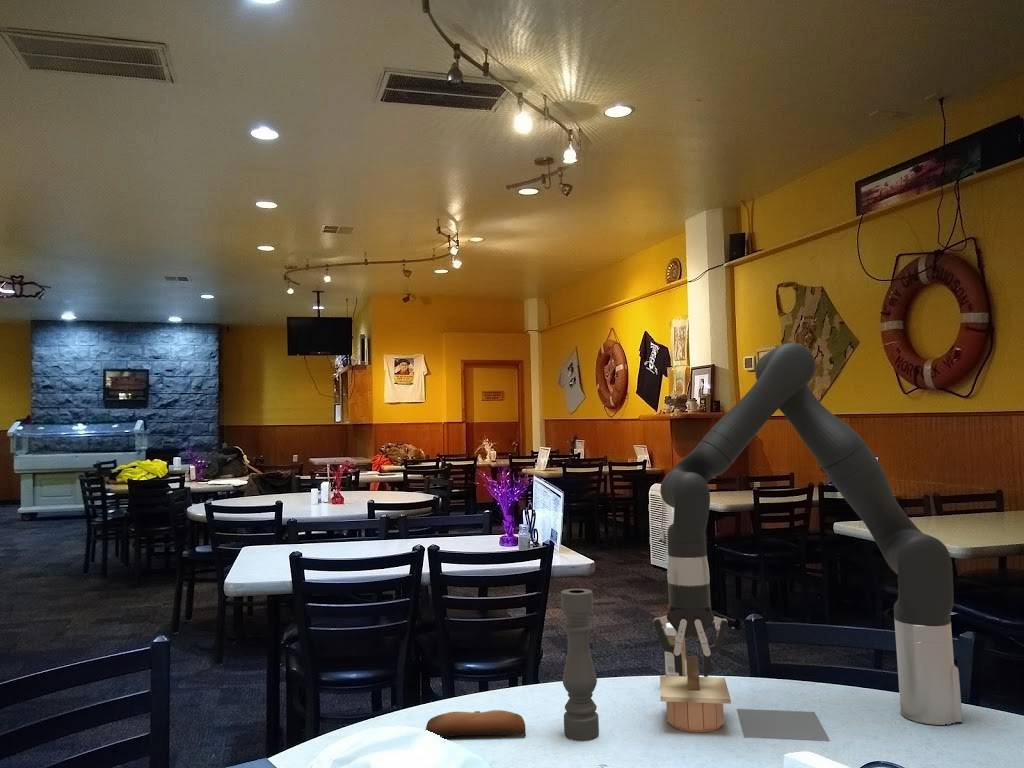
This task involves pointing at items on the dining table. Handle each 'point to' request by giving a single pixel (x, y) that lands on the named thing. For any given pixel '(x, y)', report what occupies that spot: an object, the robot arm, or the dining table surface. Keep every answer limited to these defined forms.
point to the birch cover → (694, 686)
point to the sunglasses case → (477, 723)
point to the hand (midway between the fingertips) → (692, 674)
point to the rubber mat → (781, 725)
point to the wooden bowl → (695, 716)
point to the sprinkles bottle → (670, 657)
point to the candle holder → (579, 667)
